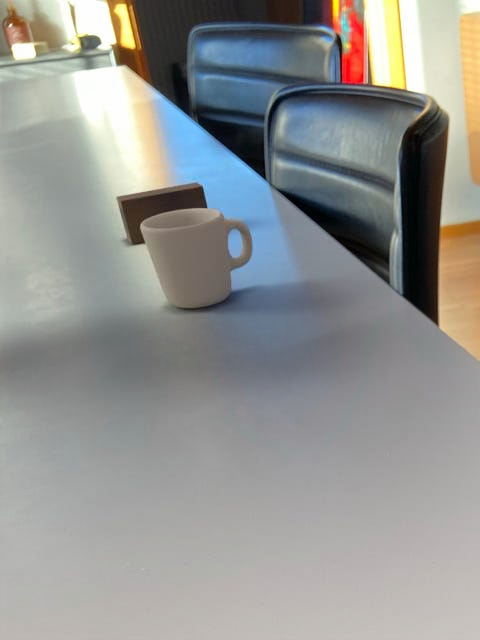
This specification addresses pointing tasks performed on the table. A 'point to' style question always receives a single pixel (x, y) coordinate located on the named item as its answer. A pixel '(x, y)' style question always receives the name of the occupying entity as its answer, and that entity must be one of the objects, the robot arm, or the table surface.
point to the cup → (194, 254)
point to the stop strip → (157, 205)
